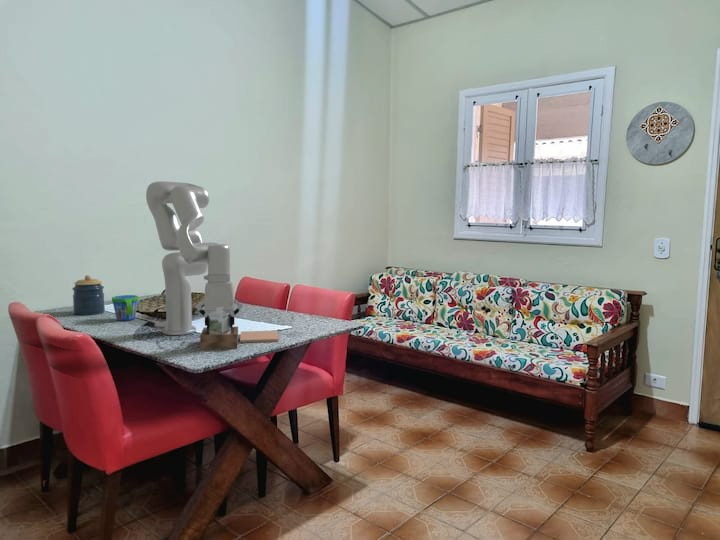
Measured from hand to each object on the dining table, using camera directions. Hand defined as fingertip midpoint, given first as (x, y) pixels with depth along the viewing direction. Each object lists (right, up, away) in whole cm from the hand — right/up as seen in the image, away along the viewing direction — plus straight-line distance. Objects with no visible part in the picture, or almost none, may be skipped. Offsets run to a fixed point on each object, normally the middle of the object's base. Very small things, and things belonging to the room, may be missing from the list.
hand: (219, 326), depth 182 cm
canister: (-76, 0, +53) cm, 92 cm away
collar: (0, -6, +1) cm, 6 cm away
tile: (+12, -5, +11) cm, 17 cm away
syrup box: (0, -7, +1) cm, 7 cm away
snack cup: (-52, -1, +40) cm, 66 cm away
